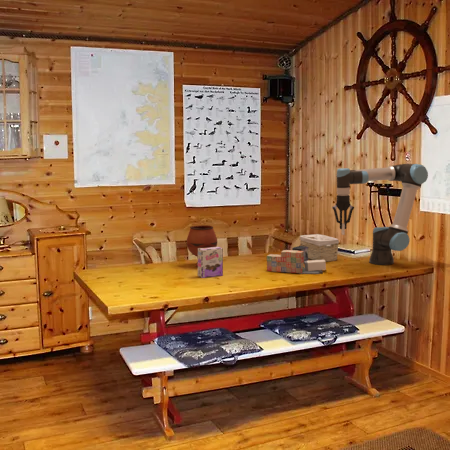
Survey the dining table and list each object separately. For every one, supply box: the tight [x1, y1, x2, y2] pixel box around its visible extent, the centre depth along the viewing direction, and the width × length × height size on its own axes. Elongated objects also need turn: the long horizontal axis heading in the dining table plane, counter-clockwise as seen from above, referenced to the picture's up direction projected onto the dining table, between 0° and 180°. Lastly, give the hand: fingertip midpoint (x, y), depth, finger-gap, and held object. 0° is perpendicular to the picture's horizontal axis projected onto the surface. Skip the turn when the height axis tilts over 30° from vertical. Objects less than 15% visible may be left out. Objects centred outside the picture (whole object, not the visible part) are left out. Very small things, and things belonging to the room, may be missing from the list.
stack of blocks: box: [266, 249, 305, 274], centre depth 343 cm, size 21×6×12 cm, turn 66°
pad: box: [299, 266, 324, 275], centre depth 345 cm, size 14×16×1 cm
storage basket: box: [299, 233, 340, 262], centre depth 382 cm, size 24×16×15 cm
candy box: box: [197, 246, 224, 279], centre depth 333 cm, size 14×6×16 cm, turn 117°
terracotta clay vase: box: [186, 224, 218, 268], centre depth 360 cm, size 19×19×25 cm
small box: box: [291, 245, 309, 261], centre depth 368 cm, size 11×6×10 cm, turn 143°
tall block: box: [304, 259, 327, 271], centre depth 345 cm, size 5×6×12 cm
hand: (343, 234), depth 342 cm, fingers closed
